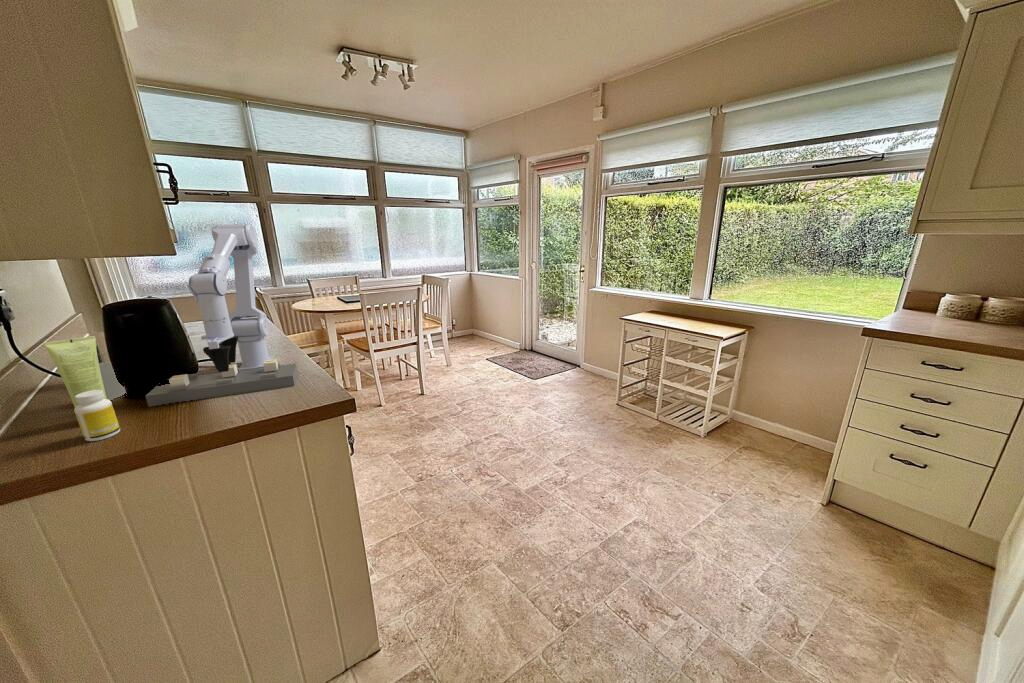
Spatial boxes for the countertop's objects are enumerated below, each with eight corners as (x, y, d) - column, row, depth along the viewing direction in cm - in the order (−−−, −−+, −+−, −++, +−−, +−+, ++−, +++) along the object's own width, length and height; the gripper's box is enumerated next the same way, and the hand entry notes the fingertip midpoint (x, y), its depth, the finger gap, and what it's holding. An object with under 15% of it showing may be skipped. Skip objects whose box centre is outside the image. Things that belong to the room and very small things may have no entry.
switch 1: (175, 384, 100) (173, 375, 99) (189, 382, 101) (187, 373, 100) (171, 389, 97) (168, 379, 96) (185, 387, 98) (183, 377, 97)
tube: (99, 413, 91) (71, 335, 86) (120, 413, 91) (94, 335, 86) (73, 425, 86) (42, 342, 80) (96, 425, 86) (67, 342, 80)
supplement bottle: (128, 429, 84) (114, 388, 81) (100, 442, 79) (84, 399, 76) (106, 428, 84) (92, 387, 82) (77, 441, 79) (61, 398, 76)
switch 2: (266, 368, 111) (264, 360, 110) (278, 367, 112) (276, 358, 111) (264, 372, 108) (263, 363, 108) (277, 370, 109) (275, 361, 109)
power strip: (166, 390, 104) (162, 376, 103) (298, 372, 116) (295, 360, 115) (148, 406, 94) (144, 392, 93) (294, 385, 107) (292, 372, 106)
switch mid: (225, 373, 107) (223, 365, 106) (238, 372, 108) (236, 363, 107) (222, 377, 104) (220, 368, 104) (235, 375, 106) (233, 367, 105)
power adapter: (95, 402, 97) (79, 358, 94) (117, 394, 102) (103, 351, 99) (106, 403, 97) (91, 358, 93) (128, 394, 102) (114, 351, 99)
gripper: (205, 314, 106) (217, 360, 109) (188, 326, 93) (201, 378, 97) (236, 312, 108) (246, 357, 112) (222, 323, 96) (234, 373, 99)
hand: (227, 366), depth 105 cm, fingers open, 7 cm apart
